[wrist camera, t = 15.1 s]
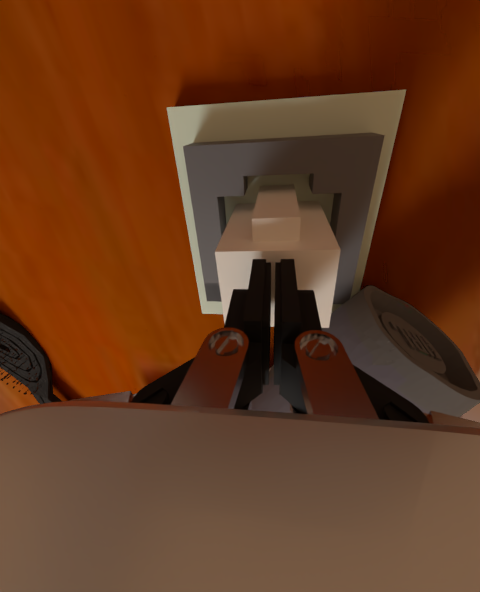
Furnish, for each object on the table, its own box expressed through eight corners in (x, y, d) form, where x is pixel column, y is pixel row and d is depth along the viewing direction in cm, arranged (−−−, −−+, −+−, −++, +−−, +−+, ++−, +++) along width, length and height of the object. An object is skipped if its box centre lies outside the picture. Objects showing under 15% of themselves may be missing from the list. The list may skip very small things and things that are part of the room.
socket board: (173, 107, 15) (152, 107, 13) (397, 91, 14) (425, 86, 11) (205, 305, 23) (196, 329, 21) (350, 308, 22) (359, 335, 19)
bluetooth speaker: (269, 425, 34) (282, 529, 26) (201, 409, 31) (192, 521, 23) (422, 302, 21) (534, 430, 14) (332, 255, 18) (410, 385, 11)
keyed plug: (235, 187, 16) (211, 228, 11) (320, 182, 16) (344, 224, 10) (240, 261, 19) (224, 325, 13) (313, 260, 18) (329, 327, 13)
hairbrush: (70, 450, 38) (-121, 323, 24) (84, 424, 41) (-78, 298, 27) (117, 446, 35) (-65, 304, 22) (129, 419, 38) (-25, 279, 25)
